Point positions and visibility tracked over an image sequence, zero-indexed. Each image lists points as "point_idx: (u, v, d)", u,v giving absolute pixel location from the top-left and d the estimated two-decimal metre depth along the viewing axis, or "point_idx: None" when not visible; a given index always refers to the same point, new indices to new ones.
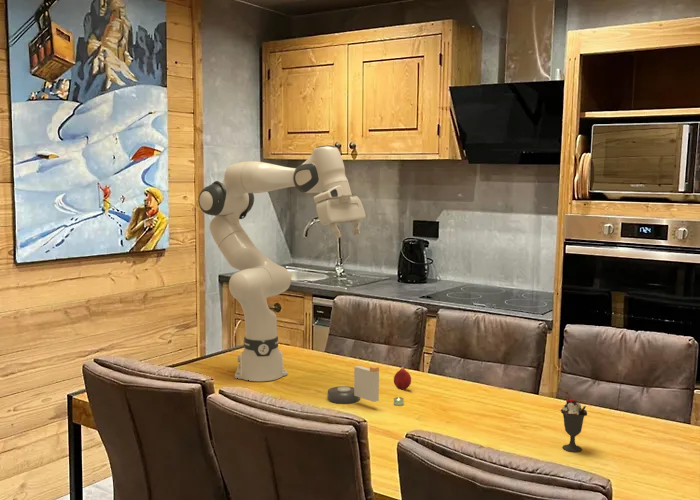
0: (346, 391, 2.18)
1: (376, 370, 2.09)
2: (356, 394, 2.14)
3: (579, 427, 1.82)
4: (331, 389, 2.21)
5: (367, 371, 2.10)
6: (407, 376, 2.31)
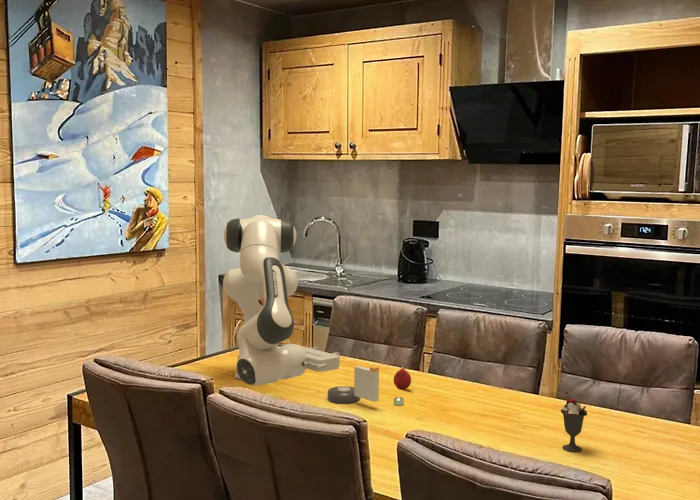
0: (346, 391, 2.18)
1: (376, 370, 2.09)
2: (356, 394, 2.14)
3: (579, 427, 1.82)
4: (331, 389, 2.21)
5: (367, 371, 2.10)
6: (407, 376, 2.31)
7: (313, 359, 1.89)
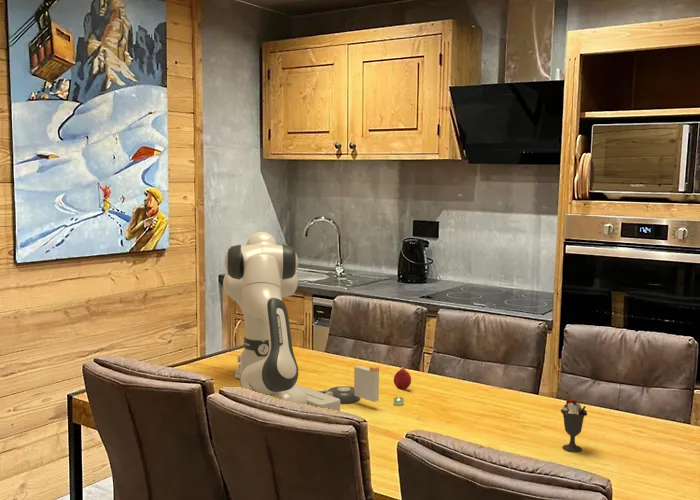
0: (346, 391, 2.18)
1: (376, 370, 2.09)
2: (356, 394, 2.14)
3: (579, 427, 1.82)
4: (331, 389, 2.21)
5: (367, 371, 2.10)
6: (407, 376, 2.31)
7: (314, 403, 1.91)
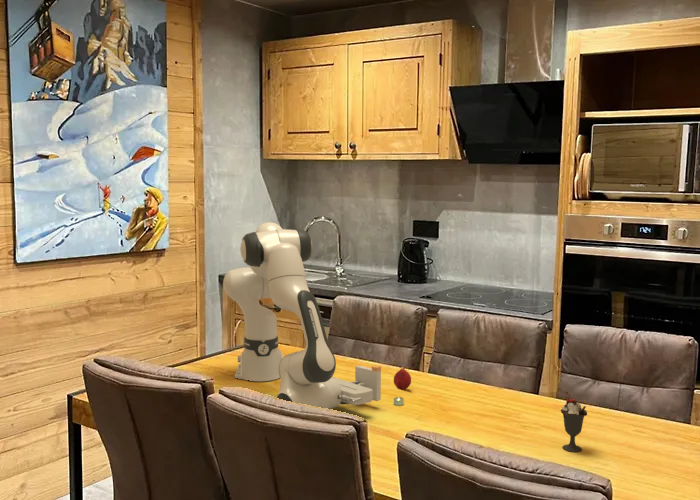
0: None
1: (378, 369, 2.09)
2: None
3: (579, 427, 1.82)
4: None
5: (369, 371, 2.11)
6: (407, 376, 2.31)
7: (348, 393, 2.00)
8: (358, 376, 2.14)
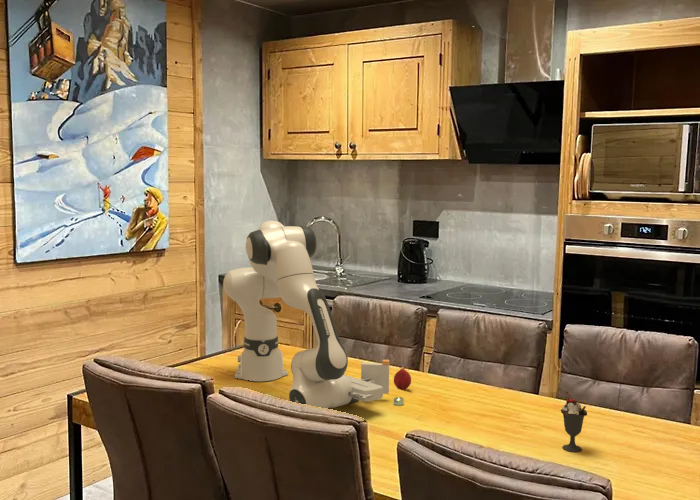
0: None
1: (388, 363, 2.17)
2: None
3: (579, 427, 1.82)
4: None
5: (379, 366, 2.17)
6: (407, 376, 2.31)
7: (359, 389, 2.03)
8: (365, 373, 2.17)
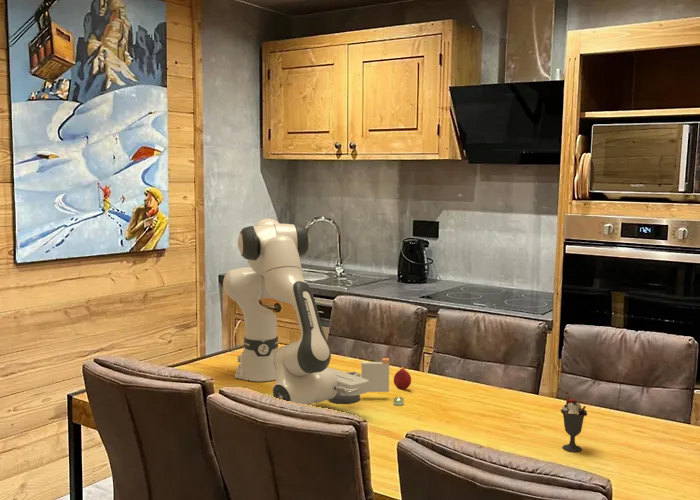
0: None
1: (388, 361, 2.19)
2: None
3: (579, 427, 1.82)
4: None
5: (379, 364, 2.18)
6: (407, 376, 2.31)
7: (344, 384, 1.99)
8: (365, 372, 2.18)
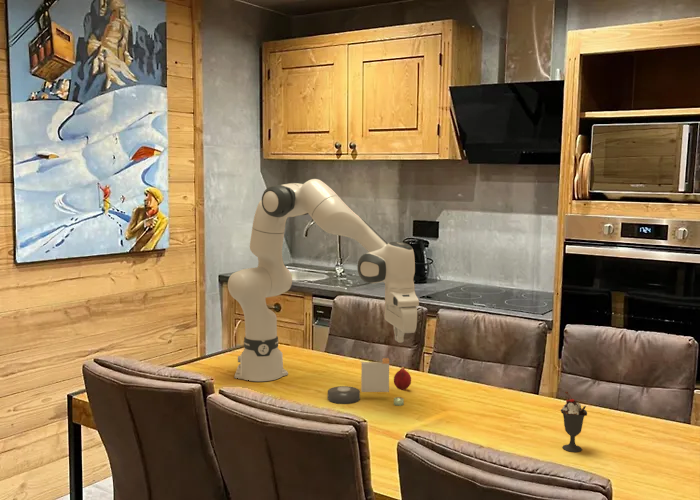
0: (349, 390, 2.19)
1: (388, 361, 2.19)
2: (364, 390, 2.19)
3: (579, 427, 1.82)
4: (331, 392, 2.18)
5: (379, 364, 2.18)
6: (407, 376, 2.31)
7: None
8: (365, 372, 2.18)
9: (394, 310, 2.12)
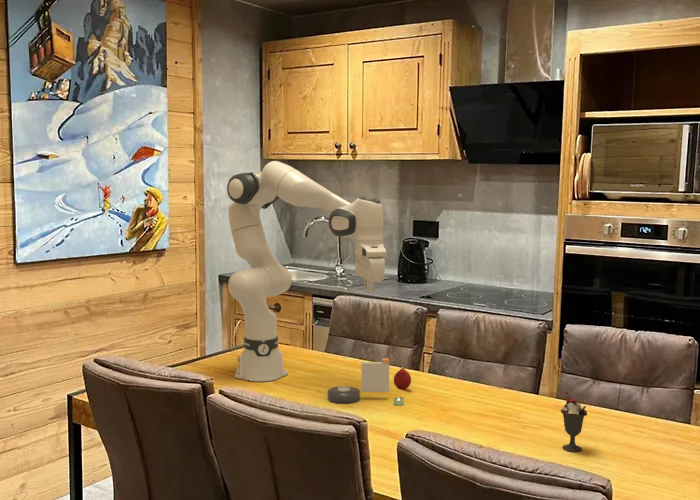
0: (349, 390, 2.19)
1: (388, 361, 2.19)
2: (364, 390, 2.19)
3: (579, 427, 1.82)
4: (331, 392, 2.18)
5: (379, 364, 2.18)
6: (407, 376, 2.31)
7: None
8: (365, 372, 2.18)
9: (364, 262, 2.22)
